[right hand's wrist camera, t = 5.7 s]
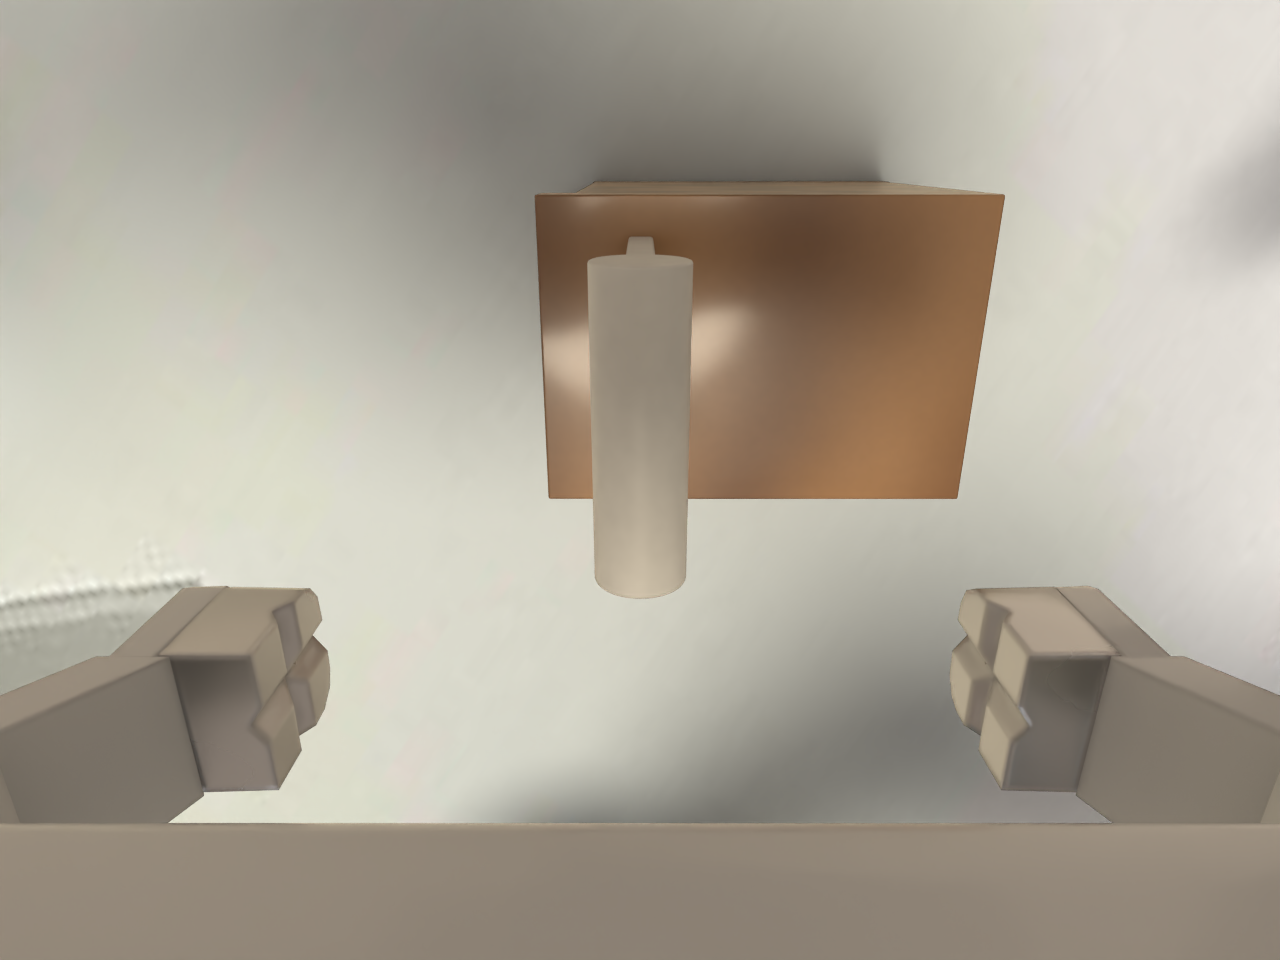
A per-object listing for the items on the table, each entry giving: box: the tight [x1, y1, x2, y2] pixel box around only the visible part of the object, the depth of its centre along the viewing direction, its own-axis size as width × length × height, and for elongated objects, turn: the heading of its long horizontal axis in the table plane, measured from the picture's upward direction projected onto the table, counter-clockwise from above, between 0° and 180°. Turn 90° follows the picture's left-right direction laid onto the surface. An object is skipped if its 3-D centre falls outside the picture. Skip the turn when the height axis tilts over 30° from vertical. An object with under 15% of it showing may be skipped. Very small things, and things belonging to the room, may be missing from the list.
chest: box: [576, 181, 985, 193], centre depth 31 cm, size 12×9×11 cm
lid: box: [535, 193, 1005, 599], centre depth 21 cm, size 13×9×9 cm
